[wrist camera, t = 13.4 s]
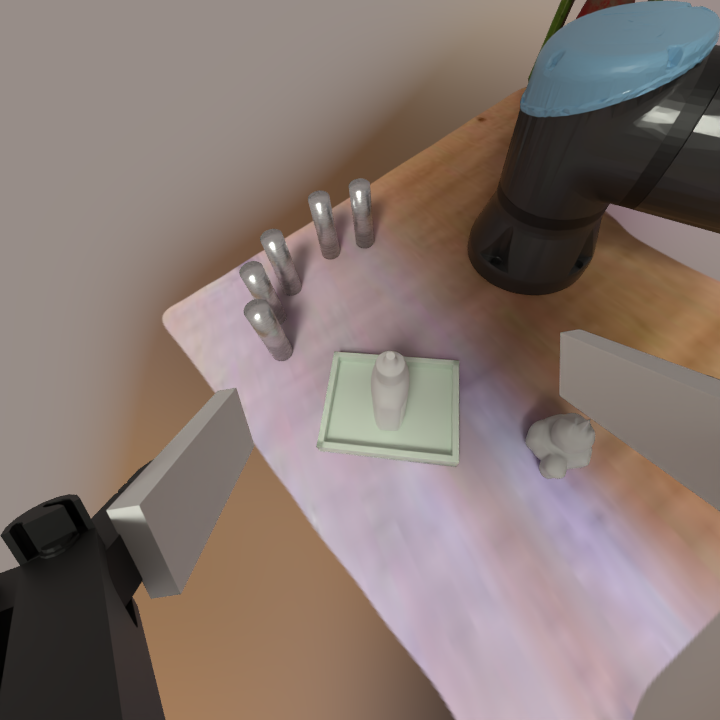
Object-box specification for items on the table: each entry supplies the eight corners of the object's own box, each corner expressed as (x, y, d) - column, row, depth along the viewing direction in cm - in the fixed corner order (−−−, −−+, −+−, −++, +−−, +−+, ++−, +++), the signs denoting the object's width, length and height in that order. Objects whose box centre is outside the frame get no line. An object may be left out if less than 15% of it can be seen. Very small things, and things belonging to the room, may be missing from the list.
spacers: (377, 238, 50) (374, 181, 42) (284, 364, 41) (258, 323, 33) (335, 223, 52) (324, 167, 44) (239, 340, 44) (204, 296, 36)
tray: (456, 368, 39) (459, 360, 37) (455, 466, 34) (458, 462, 32) (336, 359, 41) (334, 351, 39) (320, 451, 36) (316, 446, 34)
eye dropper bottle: (420, 396, 37) (433, 341, 26) (392, 439, 35) (395, 398, 25) (386, 376, 38) (386, 317, 28) (358, 416, 37) (346, 369, 26)
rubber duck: (584, 434, 35) (632, 408, 27) (568, 496, 32) (617, 485, 25) (529, 412, 36) (562, 381, 29) (510, 469, 34) (541, 451, 27)
